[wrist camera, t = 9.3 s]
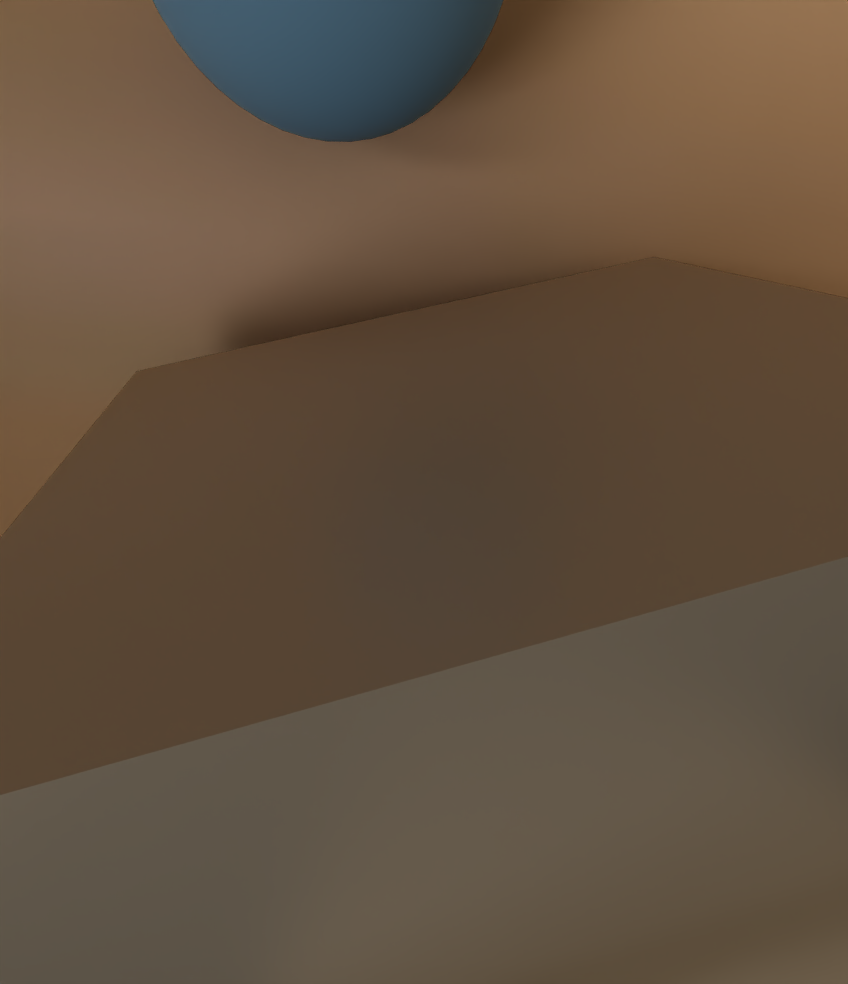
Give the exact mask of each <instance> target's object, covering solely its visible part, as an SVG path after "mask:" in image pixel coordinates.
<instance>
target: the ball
mask: <svg viewBox="0 0 848 984" xmlns="http://www.w3.org/2000/svg"><path fill="white" fill-rule="evenodd" d="M153 2H154V4H155V6H156V8H157V10H158V12H159V14H160V15H161V17H162V19H163V20H164V22H165V23H166V25H167V27H168V28H169V30H170V31H171V33H172V34H173V36H174V38H175V39H176V41H177V42H178V44H179V45H180V46H181V47H182V49H183V50H184V51H185V52H186V54H187V55H188V56H189V58H190V59H191V60H192V61H193V63H194V64H195V65H196V67H197V68H198V69H199V70H200V71H201V72H202V73H203V74H204V75H205V76H206V77H207V78H208V79H209V80H210V81H211V82H212V83H213V84H214V85H215V86H216V87H217V88H218V89H219V90H220V91H222V92H223V93H224V94H225V95H226V96H228V97H229V98H230V99H231V100H232V101H234V102H235V103H236V104H237V105H239V106H240V107H242V108H243V109H245V110H246V111H248V112H249V113H251V114H253V115H254V116H256V117H257V118H259V119H260V120H262V121H264V122H266V123H269V124H271V125H273V126H275V127H277V128H279V129H281V130H283V131H286V132H290V133H293V134H296V135H299V136H302V137H305V138H311V139H317V140H323V141H334V142H352V141H359V140H366V139H372V138H376V137H379V136H382V135H386V134H389V133H392V132H394V131H396V130H398V129H400V128H403V127H405V126H407V125H409V124H411V123H413V122H414V121H416V120H417V119H418V118H420V117H421V116H423V115H424V114H426V113H427V112H429V111H430V110H431V109H432V108H434V107H435V106H436V105H437V104H438V103H439V102H440V101H441V100H442V99H443V98H445V97H446V96H447V95H448V94H449V93H450V92H451V91H452V90H453V88H454V87H455V86H456V85H457V84H458V83H459V81H460V80H461V79H462V78H463V77H464V75H465V74H466V73H467V72H468V70H469V69H470V67H471V66H472V64H473V63H474V61H475V60H476V58H477V56H478V55H479V53H480V52H481V50H482V48H483V46H484V44H485V42H486V40H487V38H488V36H489V34H490V32H491V30H492V28H493V26H494V24H495V21H496V19H497V16H498V13H499V10H500V8H501V5H502V2H503V0H153Z"/></svg>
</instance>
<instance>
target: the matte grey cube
mask: <svg viewBox="0 0 848 984" xmlns="http://www.w3.org/2000/svg"><path fill="white" fill-rule="evenodd" d="M0 984H848V298H845V297H840V296H835V295H831V294H826V293H821V292H816V291H812V290H807V289H802V288H798V287H793V286H788V285H783V284H779V283H774V282H769V281H764V280H760V279H755V278H750V277H746V276H741V275H736V274H731V273H727V272H722V271H717V270H712V269H708V268H703V267H698V266H694V265H689V264H684V263H679V262H675V261H670V260H665V259H660V258H656V257H652V258H647V259H642V260H638V261H633V262H629V263H624V264H620V265H615V266H611V267H606V268H602V269H597V270H593V271H588V272H584V273H579V274H574V275H570V276H565V277H561V278H556V279H552V280H547V281H543V282H538V283H534V284H529V285H525V286H520V287H516V288H511V289H507V290H502V291H497V292H493V293H488V294H484V295H479V296H475V297H470V298H466V299H461V300H457V301H452V302H448V303H443V304H439V305H434V306H430V307H425V308H420V309H416V310H411V311H407V312H402V313H398V314H393V315H389V316H384V317H380V318H375V319H371V320H366V321H362V322H357V323H353V324H348V325H343V326H339V327H334V328H330V329H325V330H321V331H316V332H312V333H307V334H303V335H298V336H294V337H289V338H285V339H280V340H276V341H271V342H266V343H262V344H257V345H253V346H248V347H244V348H239V349H235V350H230V351H226V352H221V353H217V354H212V355H208V356H203V357H198V358H194V359H189V360H185V361H180V362H176V363H171V364H167V365H162V366H158V367H153V368H149V369H144V370H140V371H137V372H136V373H135V374H134V375H133V376H132V378H131V379H130V380H129V381H128V383H127V384H126V385H125V386H124V387H123V389H122V390H121V391H120V392H119V394H118V395H117V396H116V397H115V398H114V400H113V401H112V402H111V403H110V405H109V406H108V407H107V408H106V409H105V411H104V412H103V413H102V414H101V416H100V417H99V418H98V419H97V420H96V422H95V423H94V424H93V425H92V427H91V428H90V429H89V430H88V431H87V433H86V434H85V435H84V436H83V438H82V439H81V440H80V441H79V442H78V444H77V445H76V446H75V447H74V449H73V450H72V451H71V452H70V453H69V455H68V456H67V457H66V458H65V460H64V461H63V462H62V463H61V464H60V466H59V467H58V468H57V469H56V471H55V472H54V473H53V474H52V475H51V477H50V478H49V479H48V480H47V482H46V483H45V484H44V485H43V486H42V488H41V489H40V490H39V491H38V493H37V494H36V495H35V496H34V497H33V499H32V500H31V501H30V502H29V504H28V505H27V506H26V507H25V508H24V510H23V511H22V512H21V513H20V515H19V516H18V517H17V518H16V519H15V521H14V522H13V523H12V524H11V526H10V527H9V528H8V529H7V530H6V532H5V533H4V534H3V535H2V537H1V538H0Z"/></svg>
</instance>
